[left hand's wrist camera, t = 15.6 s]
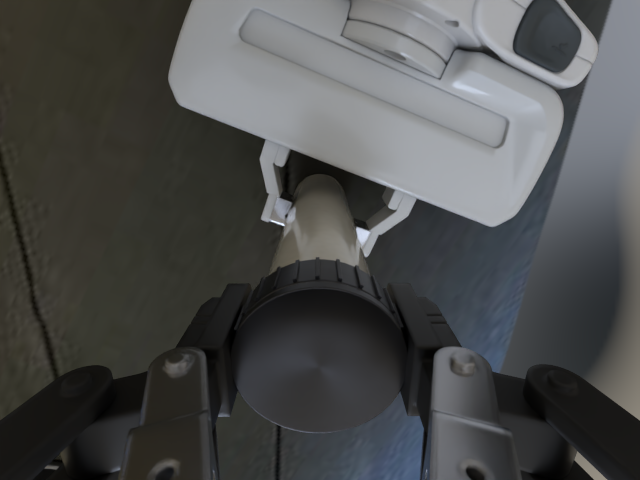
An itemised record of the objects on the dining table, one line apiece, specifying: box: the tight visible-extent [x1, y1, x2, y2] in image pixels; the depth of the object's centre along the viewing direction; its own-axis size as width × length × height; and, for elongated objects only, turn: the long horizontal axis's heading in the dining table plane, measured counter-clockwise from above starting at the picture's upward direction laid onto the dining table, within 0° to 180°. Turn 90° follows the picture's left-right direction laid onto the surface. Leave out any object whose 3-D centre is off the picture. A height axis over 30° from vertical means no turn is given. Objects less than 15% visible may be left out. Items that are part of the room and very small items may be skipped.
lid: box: [230, 257, 408, 433], centre depth 10 cm, size 5×5×2 cm
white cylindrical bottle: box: [268, 174, 371, 276], centre depth 18 cm, size 4×4×19 cm
